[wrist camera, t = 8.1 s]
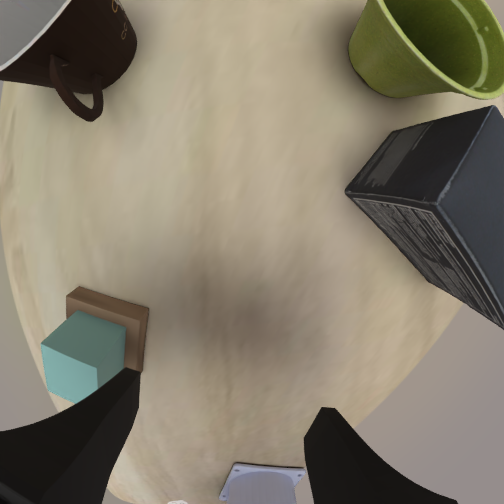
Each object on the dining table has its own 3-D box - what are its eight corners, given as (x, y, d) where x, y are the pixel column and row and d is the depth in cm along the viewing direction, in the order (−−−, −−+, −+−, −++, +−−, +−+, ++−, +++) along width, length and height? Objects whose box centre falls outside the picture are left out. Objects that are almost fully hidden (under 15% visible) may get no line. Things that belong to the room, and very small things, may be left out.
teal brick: (123, 370, 19) (99, 413, 14) (78, 353, 19) (48, 390, 14) (126, 327, 18) (96, 368, 14) (77, 309, 18) (40, 343, 13)
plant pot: (428, 28, 15) (488, -12, 7) (442, 130, 17) (523, 119, 9) (321, 0, 15) (355, -70, 7) (329, 111, 17) (386, 68, 9)
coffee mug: (59, 30, 14) (-12, -15, 5) (154, -2, 15) (109, -82, 5) (50, 158, 17) (-50, 159, 8) (152, 135, 17) (69, 102, 8)
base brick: (142, 371, 22) (135, 385, 20) (79, 348, 21) (69, 360, 19) (148, 308, 20) (140, 321, 18) (78, 286, 20) (66, 295, 18)
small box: (471, 223, 19) (566, 254, 9) (428, 284, 20) (515, 346, 10) (394, 125, 17) (499, 97, 7) (340, 192, 19) (432, 210, 8)
